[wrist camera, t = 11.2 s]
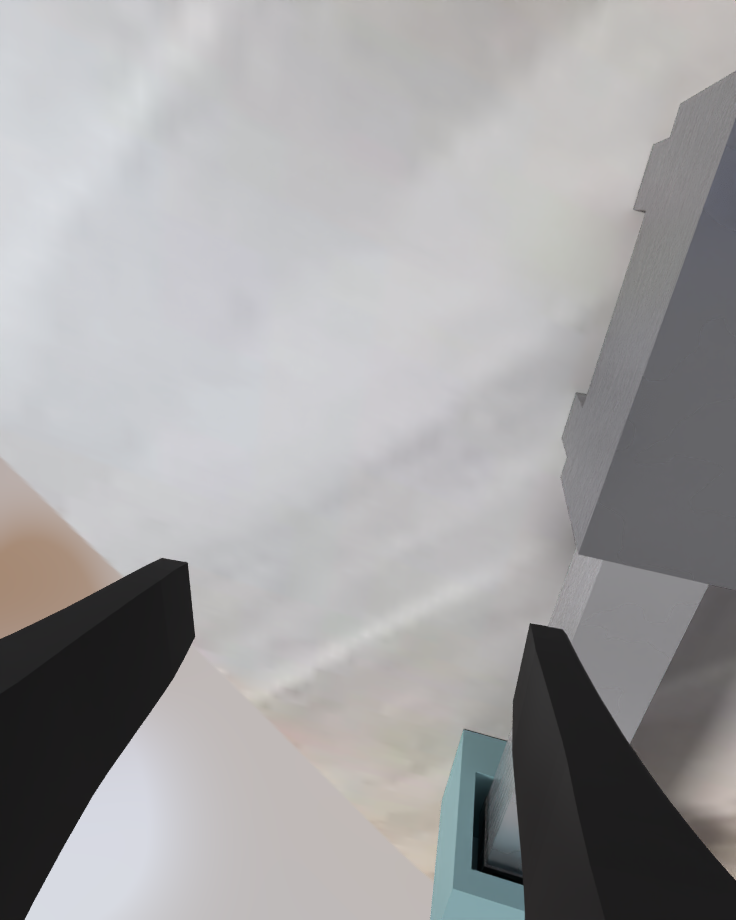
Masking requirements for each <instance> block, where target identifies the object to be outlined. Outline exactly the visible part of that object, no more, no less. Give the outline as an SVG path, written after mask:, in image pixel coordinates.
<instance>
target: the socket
mask: <svg viewBox="0 0 736 920" xmlns="http://www.w3.org/2000/svg"><path fill="white" fill-rule="evenodd" d="M506 743H507V741H503V740H500V739H496V738H492V737H489V736H485V735H482V734H478V733H474V732H471V731H467V730H463V733H462V736H461V740H460V743H459V746H458V750H457V753H456V756H455V759H454V763H453V766H452V769H451V773H450V776H449V779H448V783H447V786H446V789H445V792H444V796H443V799H442V805H441V815H440V825H439V835H438V846H437V856H436V866H435V876H434V887H433V897H432V907H431V917H430V920H525V906H524V886H523V885H521V884H518V883H514V882H511V881H508V880H505V879H501V878H498V877H495V876H492V875H489V874H485V873H482V872H479V871H477V863H478V834H479V814H480V811H481V808H482V805H483V803H484V800H485V797H487V796H488V793H489V791H490V788H491V785H492V782H493V779H494V777H495V774H496V771H497V768H498V765H499V763H500V760H501V757H502V754H503V751H504V749H505V746H506Z"/></svg>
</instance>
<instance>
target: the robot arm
mask: <svg viewBox="0 0 736 920" xmlns="http://www.w3.org/2000/svg"><path fill="white" fill-rule="evenodd" d="M194 638H195V631H194V621H193V611H192V601H191V591H190V581H189V571H188V563H187V562H181V561H176V560H170V559H164V558H161V559H159V560H157V561H155V562H152V563H150V564H148V565H146V566H144V567H142V568H140V569H139V570H137V571H135V572H133V573H131V574H129V575H127V576H125V577H123V578H122V579H120V580H118V581H116V582H114V583H112V584H110V585H109V586H107V587H105V588H103V589H101V590H99V591H97V592H95V593H93V594H91V595H90V596H88V597H86V598H84V599H82V600H80V601H78V602H76V603H74V604H72V605H71V606H69V607H67V608H65V609H63V610H60V611H58V612H57V613H54V614H52V615H50V616H48V617H46V618H44V619H42V620H40V621H38V622H36V623H34V624H32V625H30V626H27V627H25V628H23V629H21V630H19V631H17V632H15V633H13V634H11V635H8V636H6V637H4V638H2V639H0V920H25V918H26V916H27V914H28V912H29V910H30V908H31V906H32V904H33V902H34V900H35V898H36V896H37V895H38V893H39V891H40V889H41V887H42V885H43V883H44V882H45V880H46V878H47V876H48V874H49V872H50V871H51V869H52V867H53V865H54V863H55V861H56V859H57V858H58V856H59V854H60V852H61V850H62V848H63V847H64V845H65V843H66V841H67V840H68V838H69V836H70V834H71V833H72V831H73V829H74V827H75V826H76V824H77V822H78V820H79V819H80V817H81V815H82V814H83V812H84V810H85V808H86V807H87V805H88V803H89V801H90V800H91V798H92V796H93V795H94V793H95V791H96V790H97V788H98V787H99V785H100V784H101V782H102V781H103V779H104V778H105V776H106V775H107V773H108V772H109V770H110V769H111V767H112V766H113V765H114V763H115V762H116V760H117V759H118V757H119V756H120V755H121V753H122V752H123V750H124V749H125V747H126V746H127V745H128V743H129V742H130V740H131V739H132V737H133V736H134V734H135V733H136V732H137V730H138V729H139V728H140V726H141V725H142V723H143V722H144V720H145V719H146V717H147V716H148V715H149V713H150V712H151V710H152V709H153V708H154V706H155V705H156V703H157V702H158V700H159V699H160V697H161V696H162V695H163V693H164V692H165V690H166V689H167V687H168V686H169V684H170V682H171V681H172V680H173V678H174V676H175V674H176V673H177V671H178V669H179V667H180V665H181V663H182V662H183V660H184V658H185V656H186V654H187V652H188V650H189V648H190V646H191V644H192V642H193V640H194ZM512 758H513V770H514V782H515V794H516V805H517V816H518V827H519V838H520V850H521V861H522V872H523V886H524V906H525V920H736V880H735V879H734V878H733V877H732V876H731V875H730V874H729V872H728V871H727V870H726V869H725V868H724V867H723V866H722V865H721V864H720V862H719V861H718V860H717V859H716V858H715V857H714V856H713V854H712V853H711V852H710V851H709V850H708V848H707V847H706V846H705V845H704V843H703V842H702V841H701V840H700V839H699V837H698V836H697V835H696V834H695V833H694V831H693V830H692V829H691V828H690V826H689V825H688V824H687V823H686V821H685V820H684V819H683V817H682V816H681V815H680V814H679V812H678V811H677V810H676V808H675V807H674V806H673V805H672V803H671V802H670V801H669V799H668V798H667V797H666V795H665V794H664V793H663V791H662V790H661V789H660V787H659V786H658V784H657V783H656V782H655V780H654V779H653V777H652V776H651V775H650V773H649V772H648V770H647V769H646V767H645V766H644V765H643V763H642V762H641V760H640V759H639V757H638V756H637V754H636V753H635V751H634V750H633V749H632V747H631V745H630V744H629V742H628V741H627V739H626V738H625V736H624V735H623V733H622V732H621V730H620V728H619V727H618V725H617V724H616V722H615V720H614V719H613V717H612V715H611V714H610V712H609V711H608V709H607V707H606V706H605V704H604V702H603V701H602V699H601V697H600V696H599V694H598V692H597V690H596V689H595V687H594V685H593V683H592V682H591V680H590V678H589V676H588V674H587V673H586V671H585V669H584V667H583V665H582V663H581V661H580V660H579V658H578V656H577V654H576V652H575V650H574V648H573V646H572V644H571V642H570V640H569V638H568V636H567V634H566V633H565V632H564V630H563V629H559V628H553V627H548V626H542V625H536V624H531V623H530V626H529V630H528V635H527V639H526V644H525V649H524V653H523V658H522V663H521V667H520V672H519V676H518V681H517V686H516V690H515V695H514V699H513V727H512Z"/></svg>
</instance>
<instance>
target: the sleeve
mask: <svg viewBox="0 0 736 920" xmlns="http://www.w3.org/2000/svg"><path fill="white" fill-rule="evenodd" d="M633 210H640V211H646V213H645V216H644V219H643V222H642V225H641V228H640V231H639V235H638V238H637V241H636V244H635V247H634V250H633V253H632V256H631V259H630V263H629V266H628V269H627V272H626V275H625V278H624V281H623V284H622V287H621V291H620V294H619V297H618V300H617V303H616V306H615V309H614V312H613V315H612V319H611V322H610V325H609V328H608V331H607V334H606V337H605V340H604V343H603V347H602V350H601V353H600V356H599V359H598V362H597V365H596V368H595V372H594V375H593V378H592V381H591V384H590V387H589V390H588V393H587V395H586V394H581V393H576V394H575V398H574V401H573V404H572V407H571V410H570V414H569V417H568V420H567V423H566V426H565V430H564V433H563V436H562V441H563V444H564V448H565V452H566V455H567V459H566V462H565V465H564V468H563V471H562V474H561V481H562V486H563V490H564V494H565V499H566V503H567V508H568V512H569V516H570V521H571V525H572V530H573V534H574V538H575V543H576V547H577V551H578V554H579V555H583V556H587V557H592V558H596V559H600V560H605V561H609V562H614V563H618V564H622V565H627V566H631V567H635V568H640V569H644V570H648V571H653V572H657V573H662V574H666V575H670V576H675V577H679V578H683V579H688V580H692V581H696V582H701V583H705V584H709V585H714V586H718V587H723V588H727V589H731V590H736V71H735V72H733V73H731V74H730V75H728V76H726V77H725V78H723V79H721V80H720V81H718V82H716V83H715V84H713V85H711V86H709V87H708V88H706V89H704V90H703V91H701V92H699V93H698V94H696V95H694V96H693V97H691V98H689V99H687V100H686V101H684V102H682V103H681V104H680V107H679V110H678V113H677V116H676V119H675V123H674V126H673V129H672V132H671V135H670V138H667V139H665V140H663V141H660V142H658V143H656V144H653V148H652V151H651V154H650V157H649V160H648V164H647V167H646V170H645V173H644V176H643V180H642V183H641V186H640V189H639V192H638V196H637V199H636V202H635V205H634V208H633Z"/></svg>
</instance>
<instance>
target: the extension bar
mask: <svg viewBox="0 0 736 920" xmlns="http://www.w3.org/2000/svg"><path fill="white" fill-rule="evenodd" d="M708 585H709V584H705V583H701V582H696V581H692V580H688V579H683V578H679V577H675V576H670V575H666V574H662V573H657V572H653V571H648V570H644V569H640V568H635V567H631V566H627V565H622V564H618V563H614V562H609V561H605V560H600V559H596V558H592V557H587V556H583V555H579V554H578V551H577V547H576V550H575V552H574V555H573V558H572V561H571V564H570V566H569V569H568V572H567V575H566V578H565V580H564V583H563V586H562V589H561V592H560V594H559V597H558V600H557V603H556V606H555V608H554V611H553V614H552V617H551V620H550V622H549V625H548V627H553V628H559V629H563V630H564V632H565V633H566V634H567V636H568V638H569V640H570V642H571V644H572V646H573V648H574V650H575V652H576V654H577V656H578V658H579V660H580V661H581V663H582V665H583V667H584V669H585V671H586V673H587V674H588V676H589V678H590V680H591V682H592V683H593V685H594V687H595V689H596V690H597V692H598V694H599V696H600V697H601V699H602V701H603V702H604V704H605V706H606V707H607V709H608V711H609V712H610V714H611V715H612V717H613V719H614V720H615V722H616V724H617V725H618V727H619V728H620V730H621V732H622V733H623V735H624V736H625V738H626V739H627V741H628V742H629V744H630V742H631V740H632V738H633V736H634V734H635V732H636V730H637V728H638V726H639V724H640V722H641V720H642V718H643V716H644V714H645V712H646V710H647V708H648V706H649V704H650V702H651V700H652V698H653V696H654V694H655V692H656V690H657V688H658V686H659V684H660V682H661V680H662V678H663V676H664V674H665V672H666V670H667V668H668V666H669V664H670V662H671V660H672V658H673V656H674V654H675V652H676V650H677V648H678V646H679V644H680V642H681V640H682V638H683V636H684V634H685V632H686V630H687V628H688V626H689V624H690V622H691V620H692V618H693V616H694V614H695V612H696V610H697V608H698V605H699V603H700V601H701V599H702V597H703V595H704V593H705V591H706V589H707V587H708ZM512 727H513V726H512ZM477 871H479V872H482V873H485V874H489V875H492V876H495V877H498V878H501V879H505V880H508V881H511V882H514V883H518V884H521V885H523V872H522V861H521V850H520V838H519V827H518V816H517V805H516V794H515V782H514V770H513V758H512V729H511V732H510V735H509V737H508V740H507V743H506V746H505V749H504V751H503V754H502V757H501V760H500V763H499V765H498V768H497V771H496V774H495V777H494V779H493V782H492V785H491V788H490V791H489V793H488V796H487V797H485V800H484V803H483V805H482V808H481V811H480V814H479V834H478V863H477Z"/></svg>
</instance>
